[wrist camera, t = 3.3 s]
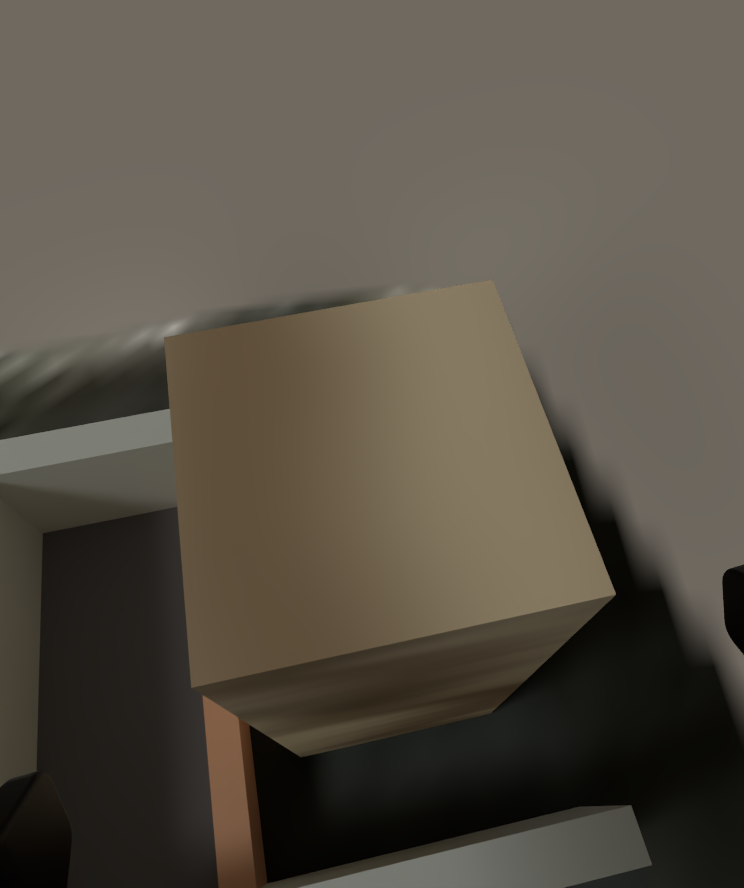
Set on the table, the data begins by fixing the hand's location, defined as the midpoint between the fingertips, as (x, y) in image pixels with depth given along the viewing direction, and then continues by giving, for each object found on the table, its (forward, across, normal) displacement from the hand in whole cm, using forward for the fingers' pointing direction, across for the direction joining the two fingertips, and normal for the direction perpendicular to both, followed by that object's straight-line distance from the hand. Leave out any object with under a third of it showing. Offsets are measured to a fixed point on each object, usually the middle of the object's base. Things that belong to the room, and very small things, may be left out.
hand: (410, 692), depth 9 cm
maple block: (+9, 0, +5) cm, 10 cm away
